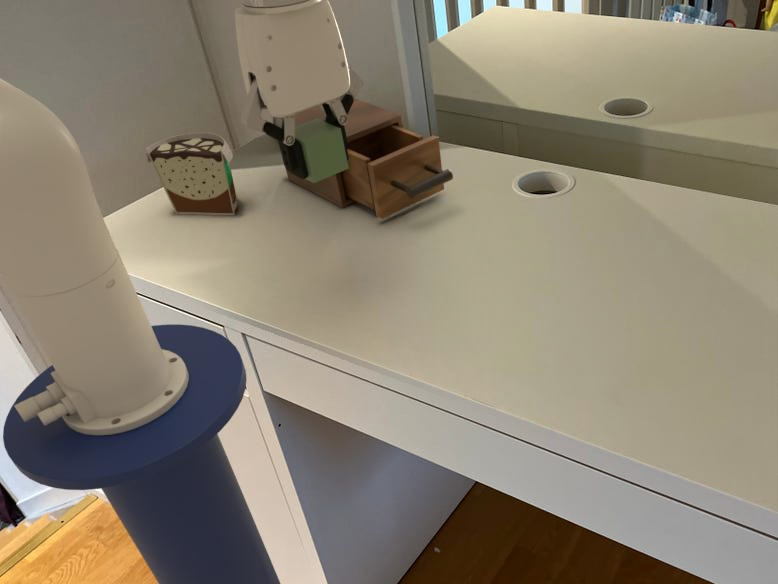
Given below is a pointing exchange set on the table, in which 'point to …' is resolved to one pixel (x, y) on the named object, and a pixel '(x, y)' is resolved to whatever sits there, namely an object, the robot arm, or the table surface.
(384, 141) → the drawer
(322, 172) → the block
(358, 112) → the cabinet
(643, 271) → the table surface
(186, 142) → the food container
